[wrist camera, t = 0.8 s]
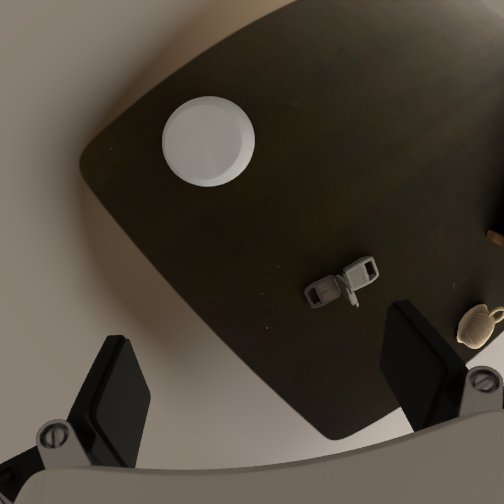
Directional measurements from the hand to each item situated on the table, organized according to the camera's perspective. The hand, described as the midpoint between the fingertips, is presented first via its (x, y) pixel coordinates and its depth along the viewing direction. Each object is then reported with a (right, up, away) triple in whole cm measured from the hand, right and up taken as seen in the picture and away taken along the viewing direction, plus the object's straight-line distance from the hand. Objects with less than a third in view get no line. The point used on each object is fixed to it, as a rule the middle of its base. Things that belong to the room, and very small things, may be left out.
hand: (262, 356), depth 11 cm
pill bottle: (-4, +14, +18) cm, 23 cm away
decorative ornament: (+32, -6, +28) cm, 43 cm away
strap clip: (+10, +1, +24) cm, 26 cm away
